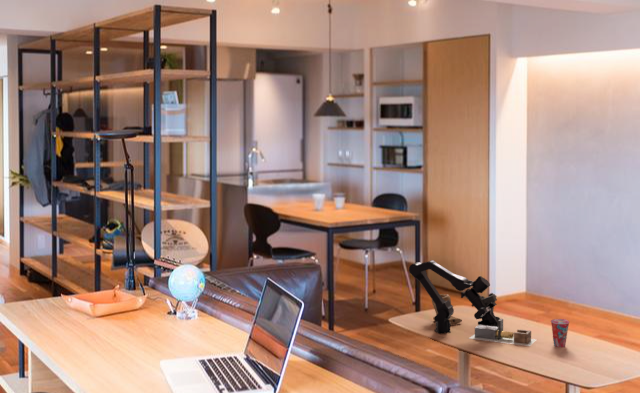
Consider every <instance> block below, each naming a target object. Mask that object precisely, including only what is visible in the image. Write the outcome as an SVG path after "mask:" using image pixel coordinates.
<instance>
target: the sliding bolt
mask: <svg viewBox="0 0 640 393" xmlns="http://www.w3.org/2000/svg"><path fill="white" fill-rule="evenodd" d="M496 337H498V339H501V338H509V339H513V337H514V331H505V330H504V318H500V320H498V330H497V331H496Z"/></svg>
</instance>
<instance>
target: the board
mask: <svg viewBox="0 0 640 393" xmlns="http://www.w3.org/2000/svg"><path fill="white" fill-rule="evenodd" d="M468 339H470V340H479V341H486V342H494V343H502V344H508V345H509V344H511V345H515V346H516V345H517V346H525V347H531V346H532V345H533V344H534V343H535V342H536V341H537V340H538V339H535V338H531V341H530V342H529V343H528V344H523V343H515V342H514V337H513V339H509V338H501V339H498V337H496V340H492V339H485V338H477V337H475V333H474V334H472V335H471V336H470V337H468Z"/></svg>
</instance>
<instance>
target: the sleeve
mask: <svg viewBox="0 0 640 393" xmlns="http://www.w3.org/2000/svg"><path fill="white" fill-rule="evenodd" d="M497 330H498V327H494V326H485V325H478V324H477V325H476V326H475V327H474V334H475V337H477V338H485V339H492V340H496V331H497Z"/></svg>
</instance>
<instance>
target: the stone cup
mask: <svg viewBox="0 0 640 393" xmlns="http://www.w3.org/2000/svg"><path fill="white" fill-rule="evenodd" d="M439 294H440V293H439ZM440 295H441V297H442V298H443V299H444V300H445V301H448V300H449V301H450V303H451V304H452V299H451V296H450V295H449V294H447V293H446V294H444V293H441V294H440ZM431 304H432V307H433V309H434V312H435V316H436V315H437V314H438V312H437V309H436V305H435V303H434V301H433V300H432V299H431ZM433 320H434V321H435V319H434V317H433ZM448 320H449V322H450V326H452V325H453V326H454V325H455V326H456V325H458V324H460V323H462V322H463V319H462V318H459V317H455V316H453V315H452V316H450V319H448Z"/></svg>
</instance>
